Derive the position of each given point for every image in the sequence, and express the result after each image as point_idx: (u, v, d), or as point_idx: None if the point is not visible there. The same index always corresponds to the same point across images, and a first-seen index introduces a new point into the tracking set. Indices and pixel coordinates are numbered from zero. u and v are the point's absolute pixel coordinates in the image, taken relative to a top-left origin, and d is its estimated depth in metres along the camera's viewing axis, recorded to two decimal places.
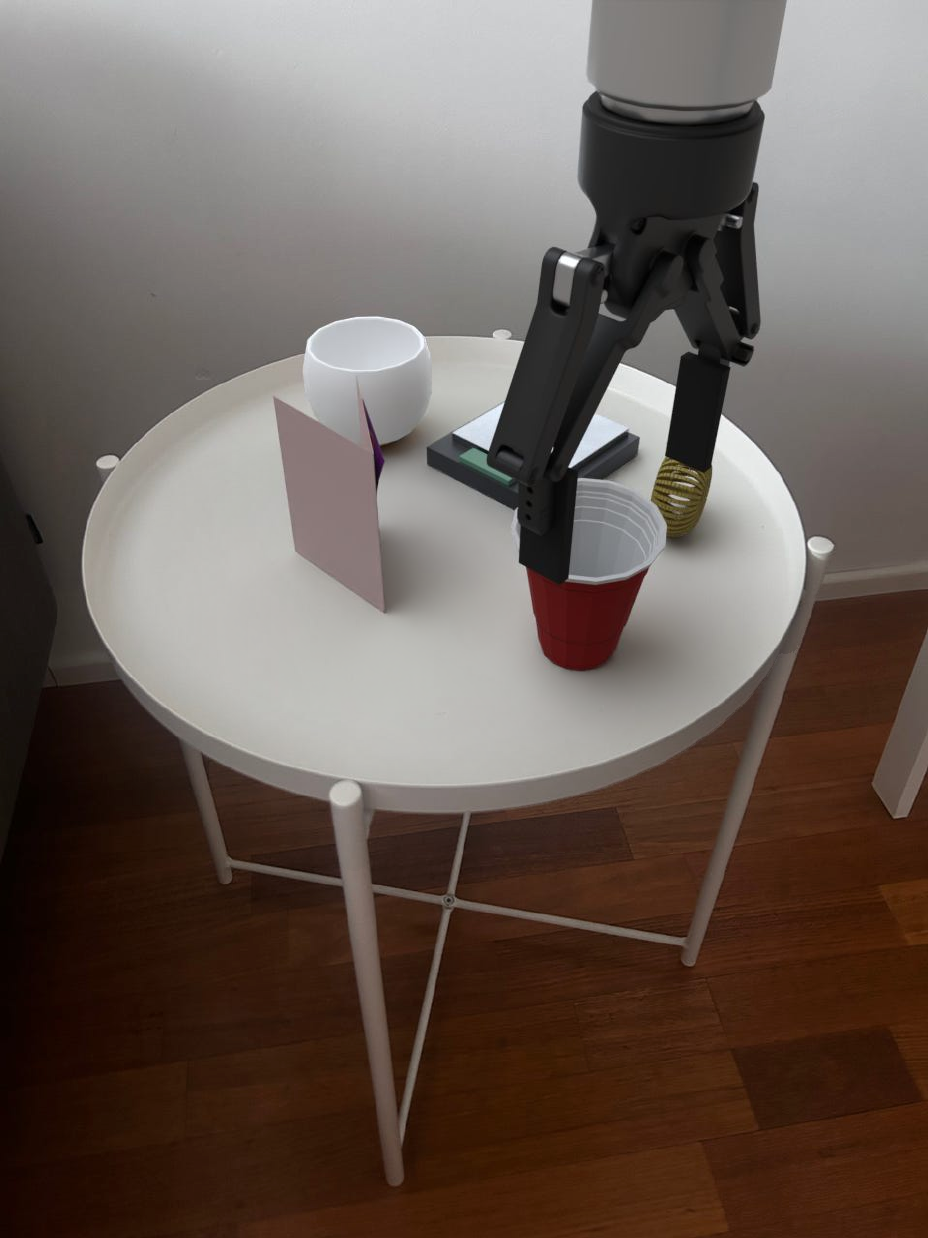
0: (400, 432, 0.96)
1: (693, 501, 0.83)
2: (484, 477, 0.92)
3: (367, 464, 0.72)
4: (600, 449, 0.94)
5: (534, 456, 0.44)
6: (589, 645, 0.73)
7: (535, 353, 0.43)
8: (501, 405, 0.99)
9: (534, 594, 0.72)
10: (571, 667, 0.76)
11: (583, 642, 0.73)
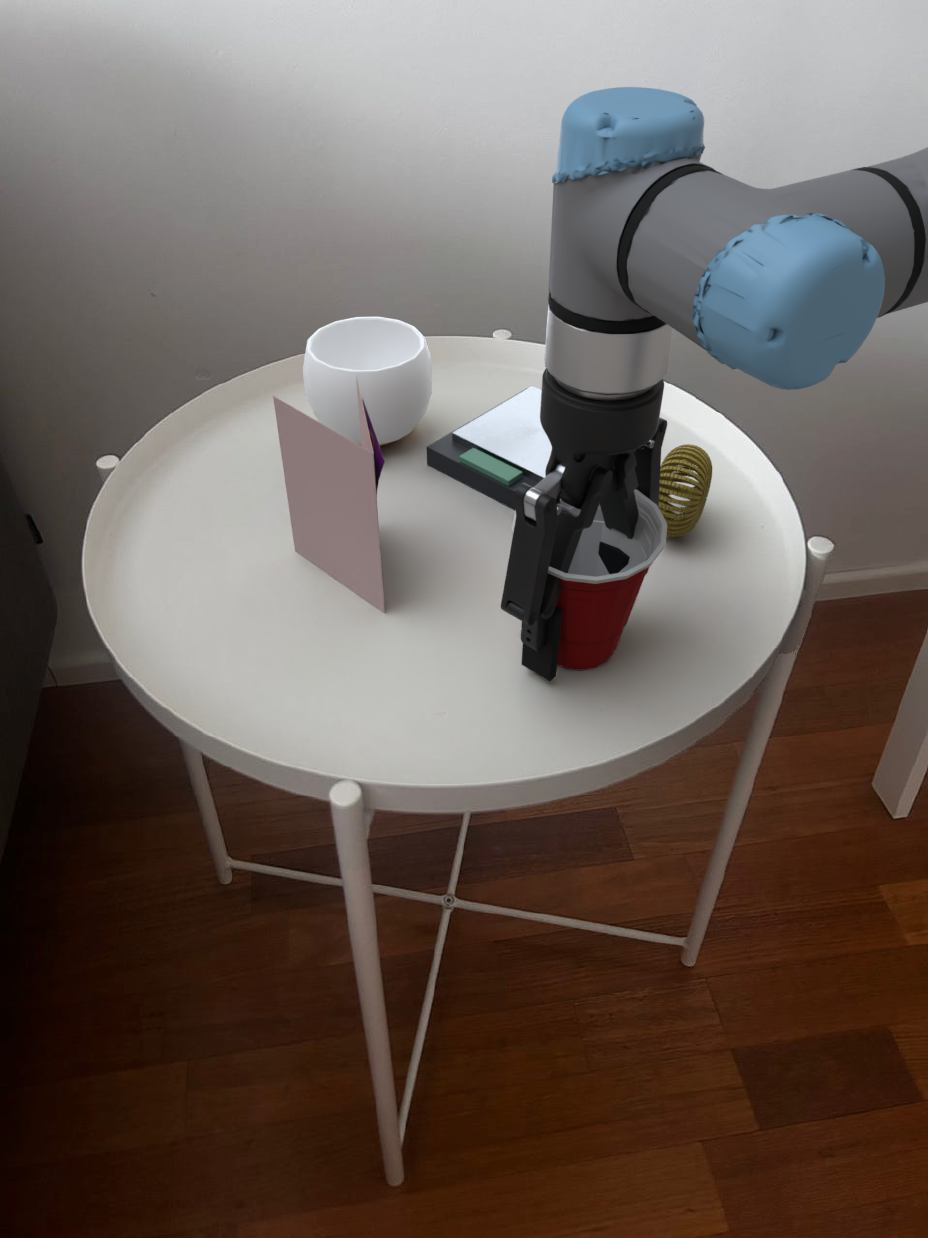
0: (400, 432, 0.96)
1: (693, 501, 0.83)
2: (484, 477, 0.92)
3: (367, 464, 0.72)
4: None
5: (530, 610, 0.67)
6: (589, 644, 0.73)
7: (520, 547, 0.65)
8: (501, 405, 0.99)
9: None
10: (571, 667, 0.76)
11: (584, 641, 0.73)
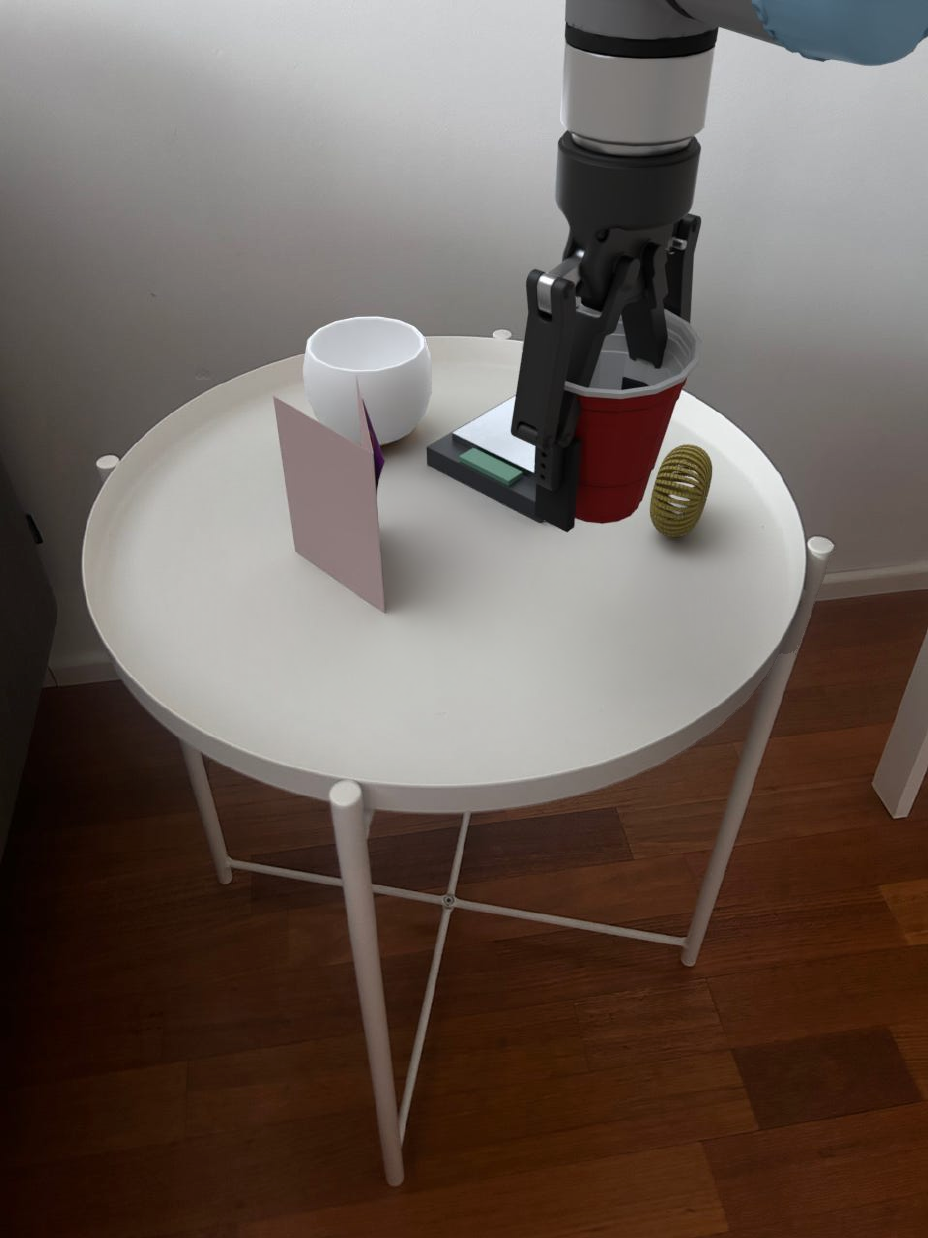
0: (400, 432, 0.96)
1: (693, 501, 0.83)
2: (484, 477, 0.92)
3: (367, 464, 0.72)
4: None
5: (544, 429, 0.57)
6: (612, 488, 0.64)
7: (533, 351, 0.56)
8: (501, 405, 0.99)
9: None
10: (591, 520, 0.67)
11: (606, 483, 0.64)
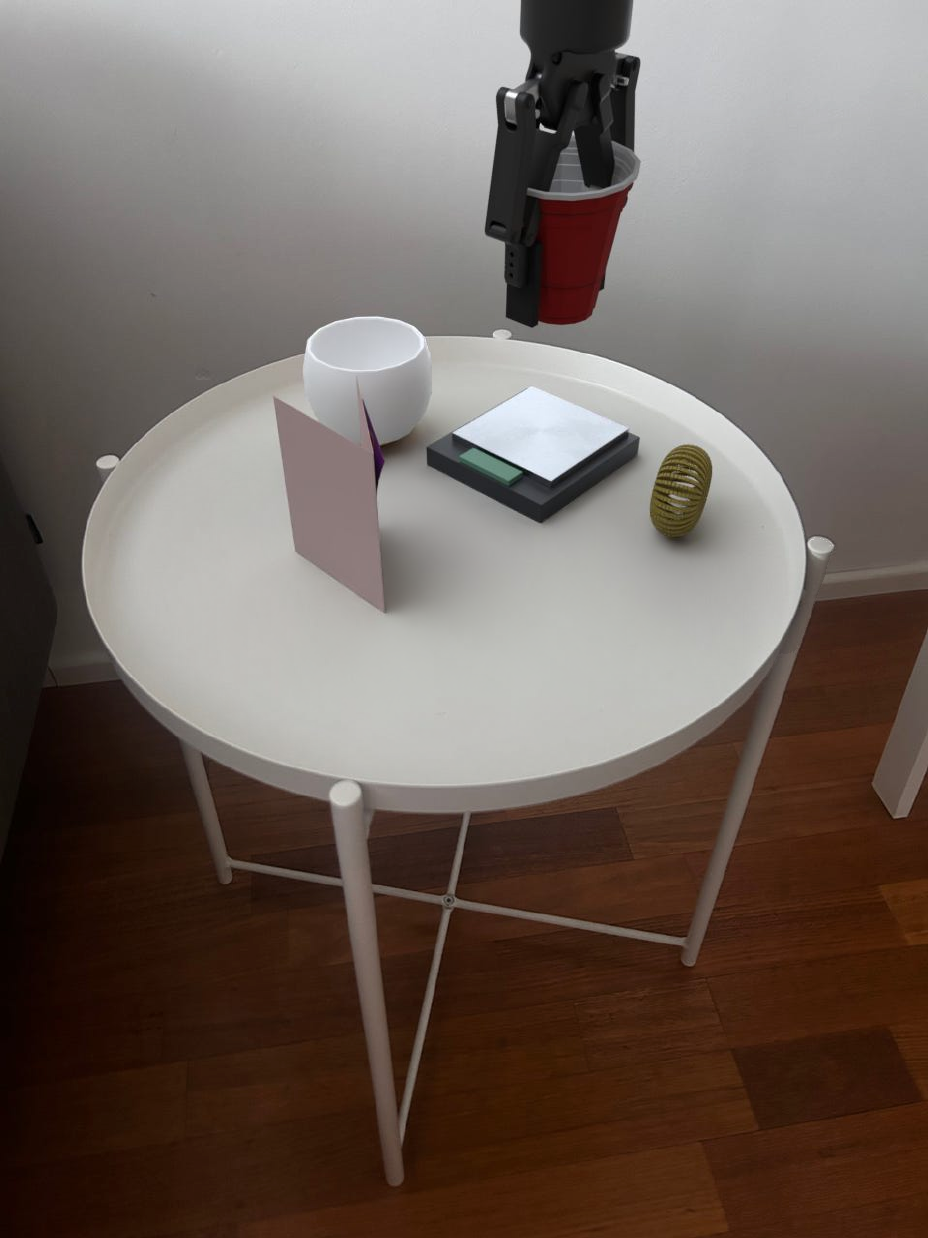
0: (400, 432, 0.96)
1: (693, 501, 0.83)
2: (484, 477, 0.92)
3: (367, 464, 0.72)
4: (600, 449, 0.94)
5: (511, 225, 0.71)
6: (569, 290, 0.78)
7: (502, 158, 0.70)
8: (501, 405, 0.99)
9: None
10: (552, 321, 0.81)
11: (563, 284, 0.78)
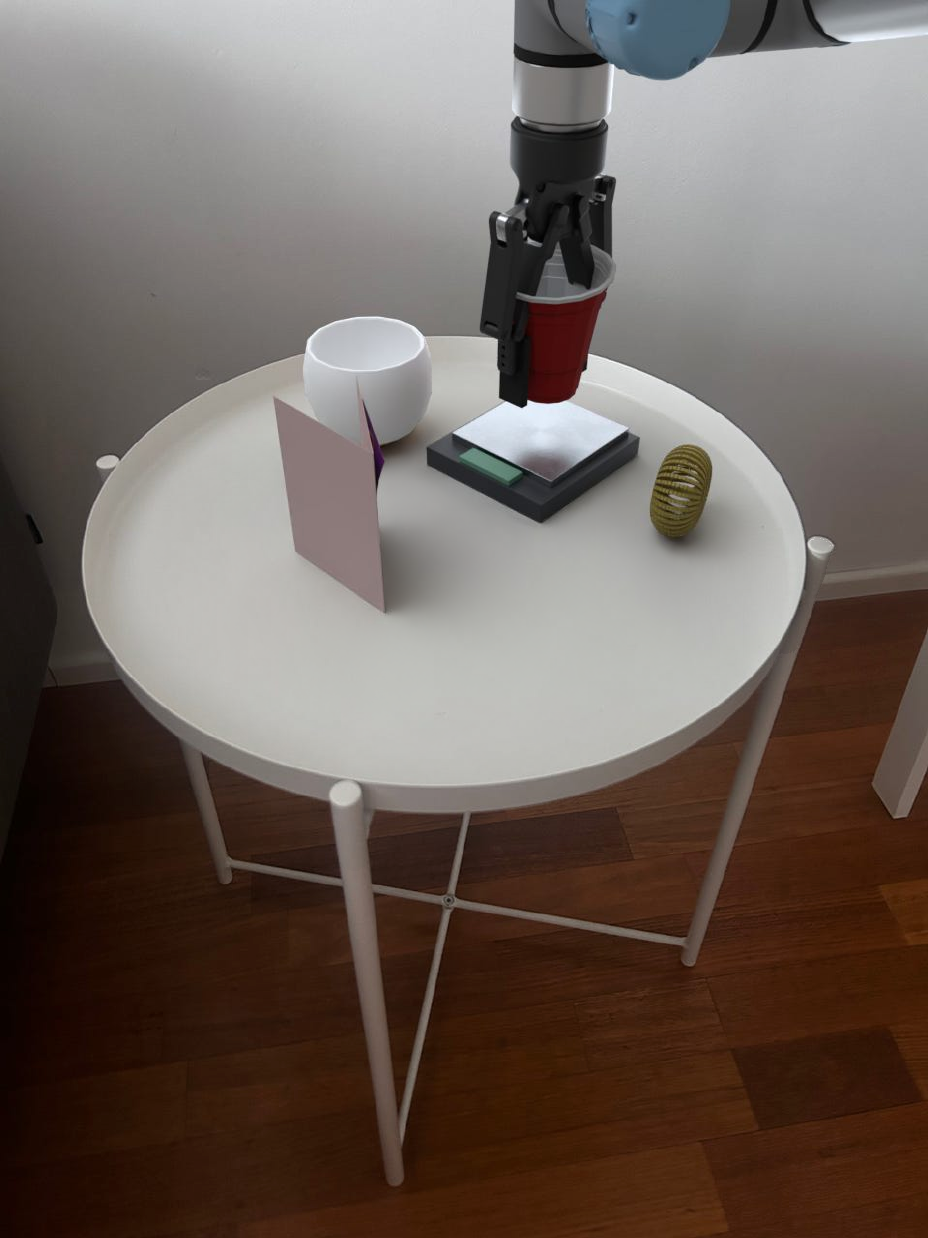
0: (400, 432, 0.96)
1: (693, 501, 0.83)
2: (484, 477, 0.92)
3: (367, 464, 0.72)
4: (600, 449, 0.94)
5: (502, 325, 0.82)
6: (554, 375, 0.89)
7: (494, 269, 0.80)
8: (501, 405, 0.99)
9: None
10: (540, 401, 0.91)
11: (549, 371, 0.88)
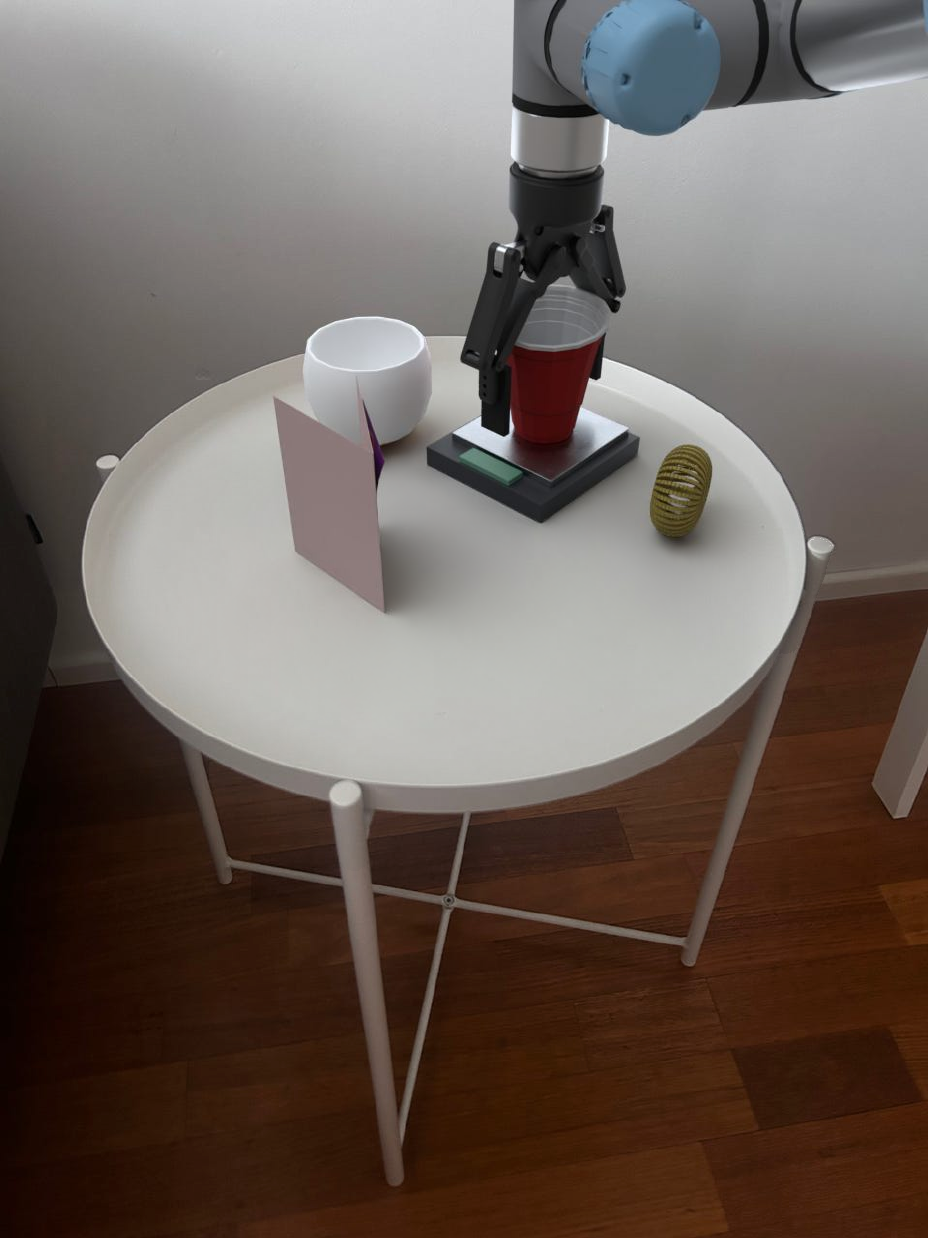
0: (400, 432, 0.96)
1: (693, 501, 0.83)
2: (484, 477, 0.92)
3: (367, 464, 0.72)
4: (600, 449, 0.94)
5: (485, 354, 0.82)
6: (551, 417, 0.91)
7: (485, 298, 0.81)
8: None
9: None
10: (538, 440, 0.94)
11: (547, 413, 0.91)
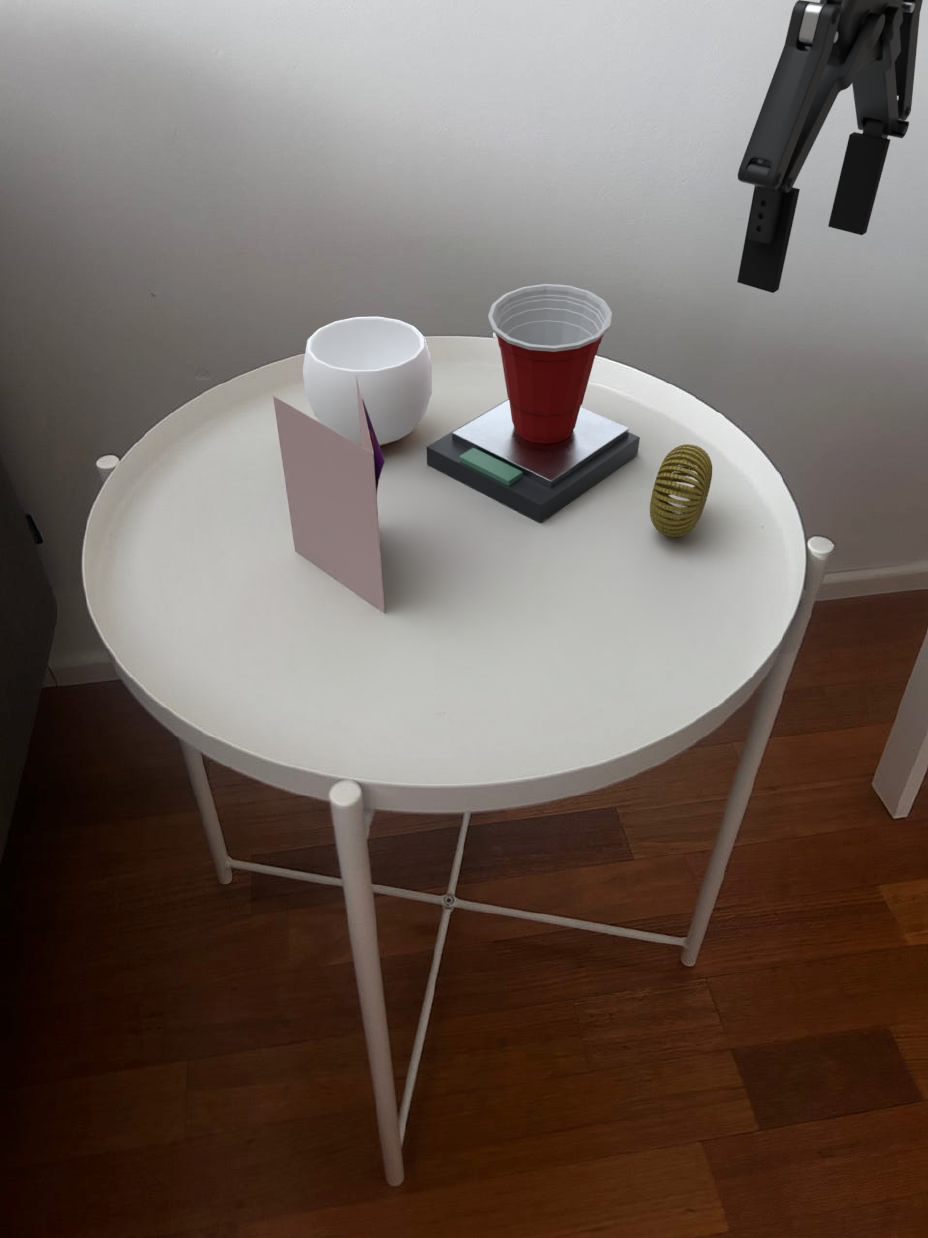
0: (400, 432, 0.96)
1: (693, 501, 0.83)
2: (484, 477, 0.92)
3: (367, 464, 0.72)
4: (600, 449, 0.94)
5: (780, 161, 0.60)
6: (551, 417, 0.91)
7: (782, 83, 0.59)
8: (501, 405, 0.99)
9: (507, 373, 0.90)
10: (538, 441, 0.94)
11: (547, 413, 0.91)
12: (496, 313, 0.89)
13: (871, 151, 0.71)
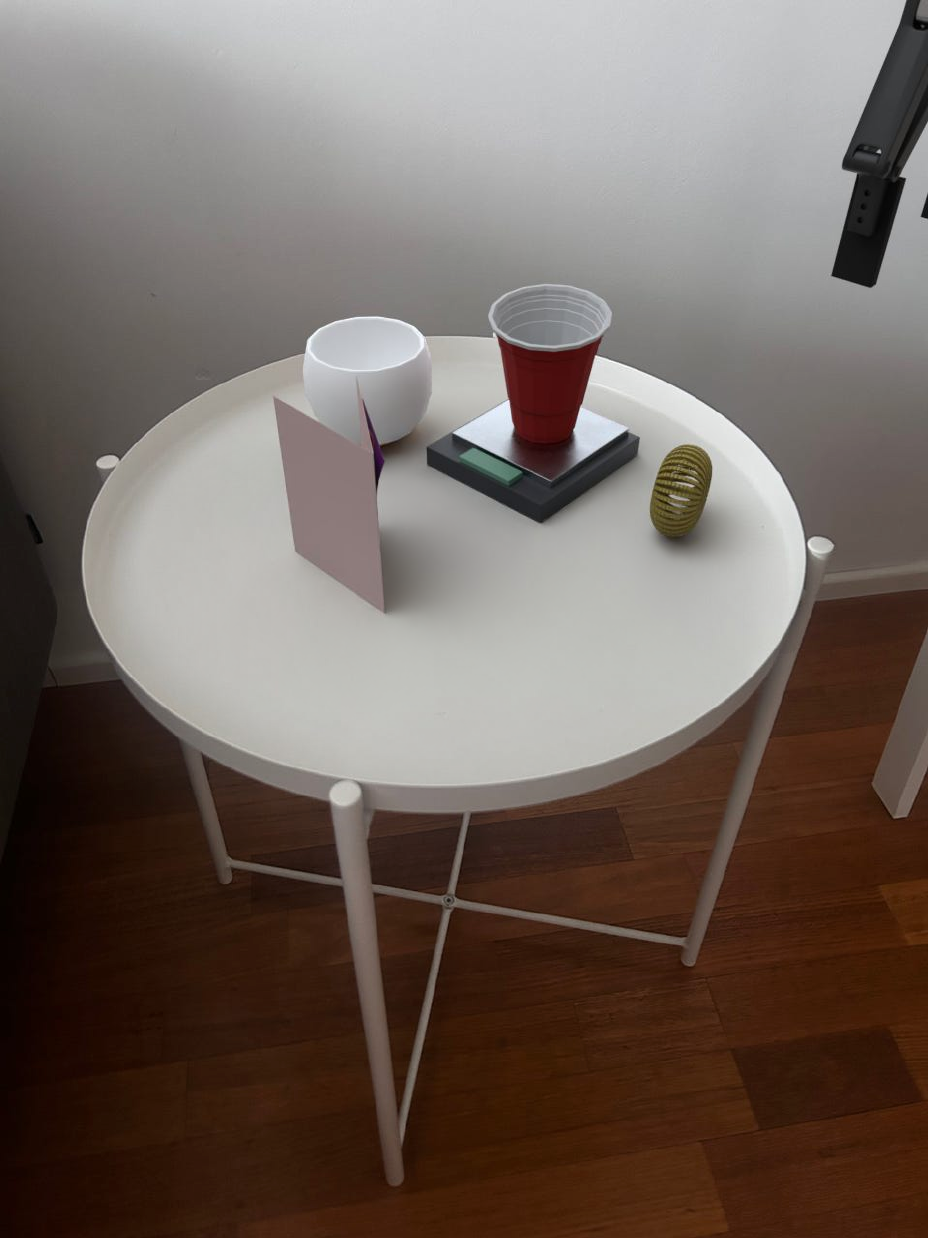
0: (400, 432, 0.96)
1: (693, 501, 0.83)
2: (484, 477, 0.92)
3: (367, 464, 0.72)
4: (600, 449, 0.94)
5: (891, 148, 0.56)
6: (551, 417, 0.91)
7: (896, 64, 0.56)
8: (501, 405, 0.99)
9: (507, 373, 0.90)
10: (538, 441, 0.94)
11: (547, 413, 0.91)
12: (496, 313, 0.89)
13: None
